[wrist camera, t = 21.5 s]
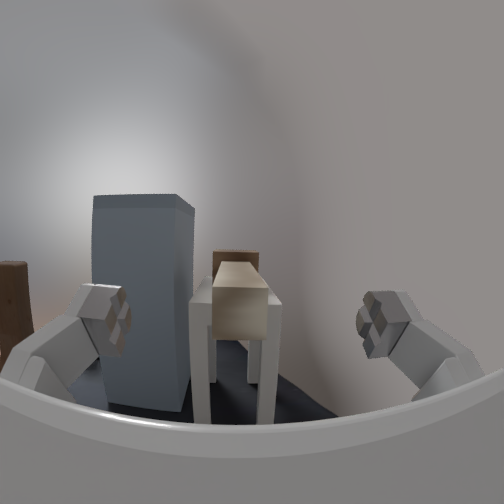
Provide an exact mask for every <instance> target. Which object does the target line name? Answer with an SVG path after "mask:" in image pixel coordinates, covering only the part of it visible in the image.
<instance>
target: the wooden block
mask: <svg viewBox="0 0 504 504" xmlns="http://www.w3.org/2000/svg"><path fill="white" fill-rule="evenodd" d="M33 333H34V328H33V322H32V314H31V307H30V297H29V285H28V267H27V263H26V262H24V261H2V262H0V352H1V355H0V373H1V371H2V369H3V367H4V365H5V363H6V361H7V359H8V357H9V355H10V353H11V351H12V349H13V347H15V346H16V345H18V344H19V343H20V342H22V341H23V340H25V339H26V338H27V337H29V336H30V335H32V334H33Z"/></svg>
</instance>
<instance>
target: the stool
mask: <svg viewBox="0 0 504 504" xmlns="http://www.w3.org/2000/svg"><path fill="white" fill-rule="evenodd" d="M263 281H264V280H263ZM264 282H265V281H264ZM265 284H266V282H265ZM266 285H267V284H266ZM267 286H268V285H267ZM268 288H269V286H268ZM281 318H282V303H281V302H280V301H279V300H278V298H277V297H276V296H275V294H274V293H273V292H272V290H271V289H270V288H269V290H268V313H267V334H266V340H249V344H248V345H249V346H248V375H247V379H248V383H258V395H257V414H256V425H267V424H274V413H275V402H276V390H277V377H278V364H279V350H280V335H281ZM189 344H190V368H191V386H192V401H193V414H194V424H211V408H210V383H216V340H212V277H210V276H209V277H208V276H207V277H206V276H205V278H204V279H203V280H202V282H201V284H200V285H199V287H198V288H197V290H196V292H195V293H194V295H193V296H192V298H191V299H190V301H189Z"/></svg>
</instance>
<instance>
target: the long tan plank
mask: <svg viewBox="0 0 504 504" xmlns="http://www.w3.org/2000/svg"><path fill="white" fill-rule="evenodd" d="M258 261H259V253H258V252H257V251H254V250H221V249H216V250H214V251H213V274H212V340H266V334H267V313H268V290H269V288H268V286H267V285H266V284H265V282H264V281H263V279H262V278H261V277H260V275H259V274H258Z"/></svg>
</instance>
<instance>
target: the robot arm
mask: <svg viewBox="0 0 504 504" xmlns="http://www.w3.org/2000/svg"><path fill="white" fill-rule="evenodd" d="M126 296H127V295H126V292H125V289H124V288H123V287H122V286H113V285H103V284H90V283H83V284H82V285H81V286H80V288H79V289H78V291H77V293H76V294H75V296H74V298H73V300H72V301H71V303H70V305H69V307H68V308H67V310H66V312H65V314H64V315H59V316H58V317H57V318H55V319H53V320H52V321H50V322H49V323H47V324H46V325H45V326H43V327H42V328H40V329H39V330H37V331H36V332H34V333H33V334H32V335H30V336H29V337H27V338H26V339H25V340H23V341H22V342H20V343H19V344H18V345H16V346H15V347H13V349H12V351H11V353H10V355H9V357H8V359H7V361H6V363H5V365H4V367H3V369H2V371H1V373H0V504H504V367H503V368H501V369H499V370H497V371H495V372H493V373H491V374H488V375H486V376H485V374H484V372H483V370H482V369H481V367H480V365H479V363H478V361H477V360H476V358H475V356H474V354H473V352H472V351H471V350H470V349H468V348H467V347H466V346H464V345H463V344H461V343H460V342H459V341H457V340H456V339H454V338H453V337H451V336H450V335H449V334H447V333H446V332H444V331H443V330H441V329H440V328H438V327H437V326H435V325H434V324H432V323H431V322H430V321H428V320H424V319H423V318H422V316H421V314H420V312H419V311H418V309H417V308H416V306H415V304H414V303H413V301H412V300H411V298H410V297H409V295H408V294H407V292H406V291H405V290H392V291H368V292H367V293H366V294H365V296H364V298H363V302H364V304H365V305H364V306H362V307H361V308H360V309H359V311H358V314H357V316H356V327H357V331H358V334H359V335H360V336H361V337H362V338H364V342H363V347H364V349H365V352H366V355H367V357H368V359H371V358H380V357H388V358H389V359H390V360H391V361H392V362H393V363H394V364H395V365H396V366H397V367H398V368H399V369H400V370H401V371H402V372H403V373H404V374H405V375H406V376H407V377H408V378H409V379H410V380H411V381H412V382H413V383H414V384H415V385H416V386H417V387H418V388H419V389H420V390H419V391H418V392H417V393H416V394H415V395H414V396H413V398H412V402H410V403H407V404H403V405H399V406H395V407H391V408H386V409H382V410H378V411H373V412H368V413H363V414H357V415H352V416H346V417H340V418H333V419H325V420H317V421H308V422H298V423H285V424H267V425H213V424H194V423H182V422H171V421H162V420H154V419H147V418H140V417H134V416H128V415H123V414H118V413H113V412H108V411H103V410H99V409H94V408H90V407H86V406H82V405H78V404H76V400H75V398H74V397H73V396H72V395H71V394H70V392H69V391H68V390H67V388H68V387H69V386H70V385H71V384H72V383H73V382H74V381H75V380H76V379H77V378H78V377H79V376H80V375H81V374H82V373H83V372H84V371H85V370H86V369H87V368H88V367H89V366H90V365H91V364H92V363H93V362H94V361H95V360H96V359H97V358H98V357H99V355H104V356H112V357H120V358H121V356H122V352H123V349H124V346H125V343H126V342H125V339H124V336H125V335H126V334H127V333H129V330H130V327H131V319H132V316H131V309H130V306H129V305H128V304H127V303H126V302H125V299H126Z"/></svg>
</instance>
